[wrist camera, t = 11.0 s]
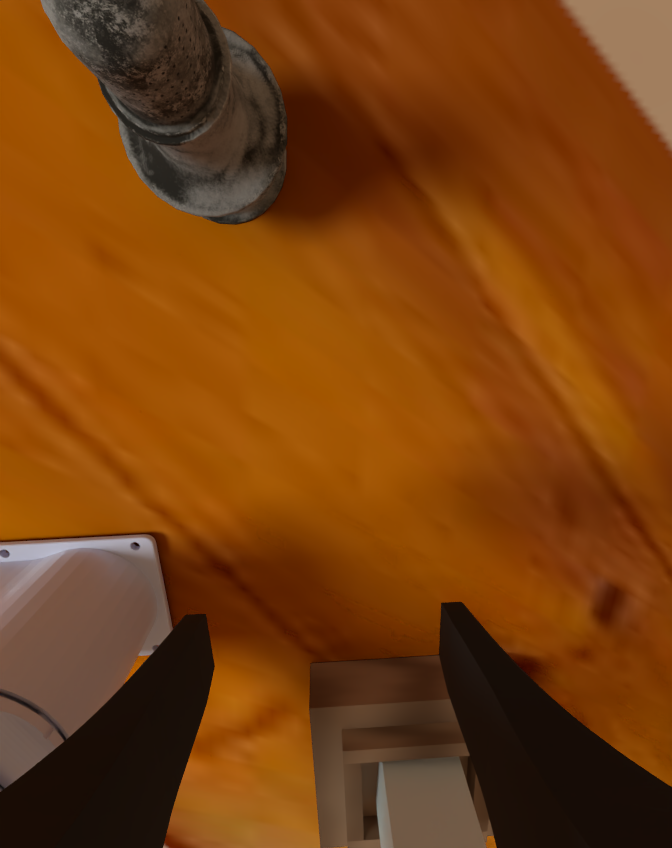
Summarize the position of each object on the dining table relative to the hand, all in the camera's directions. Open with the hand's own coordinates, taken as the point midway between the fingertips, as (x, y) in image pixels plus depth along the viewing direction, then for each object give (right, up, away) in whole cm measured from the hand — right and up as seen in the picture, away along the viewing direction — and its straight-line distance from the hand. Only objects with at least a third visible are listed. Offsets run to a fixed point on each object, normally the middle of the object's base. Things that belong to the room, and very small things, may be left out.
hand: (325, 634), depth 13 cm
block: (+5, -15, +12) cm, 20 cm away
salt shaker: (-4, +18, +5) cm, 19 cm away
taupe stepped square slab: (+5, -14, +15) cm, 21 cm away
